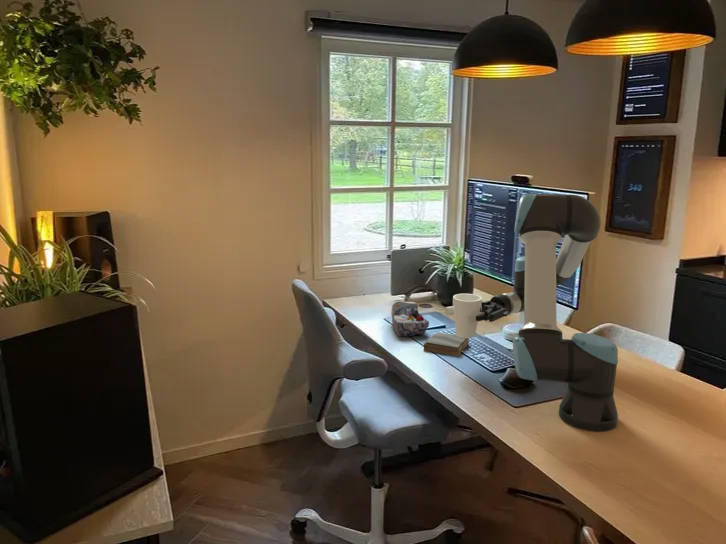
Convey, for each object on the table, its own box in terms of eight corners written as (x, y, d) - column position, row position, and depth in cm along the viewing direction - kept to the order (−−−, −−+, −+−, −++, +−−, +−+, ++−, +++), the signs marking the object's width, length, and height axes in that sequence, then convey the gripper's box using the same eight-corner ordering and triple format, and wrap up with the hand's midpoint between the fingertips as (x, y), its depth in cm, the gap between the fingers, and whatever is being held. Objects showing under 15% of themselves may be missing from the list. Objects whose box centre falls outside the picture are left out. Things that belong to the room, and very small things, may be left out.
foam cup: (479, 340, 187) (481, 302, 184) (450, 338, 188) (452, 300, 185) (479, 331, 196) (481, 294, 193) (452, 329, 198) (453, 292, 194)
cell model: (414, 296, 238) (432, 311, 219) (413, 321, 241) (431, 338, 222) (384, 298, 235) (400, 314, 216) (383, 323, 238) (399, 340, 219)
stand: (458, 356, 203) (458, 348, 202) (423, 350, 208) (423, 342, 208) (468, 344, 214) (469, 337, 213) (435, 339, 220) (435, 331, 219)
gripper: (528, 323, 192) (480, 336, 180) (481, 307, 210) (434, 317, 198) (530, 301, 190) (481, 313, 178) (482, 287, 208) (434, 296, 196)
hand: (456, 315), depth 188 cm, fingers closed on foam cup, 9 cm apart
